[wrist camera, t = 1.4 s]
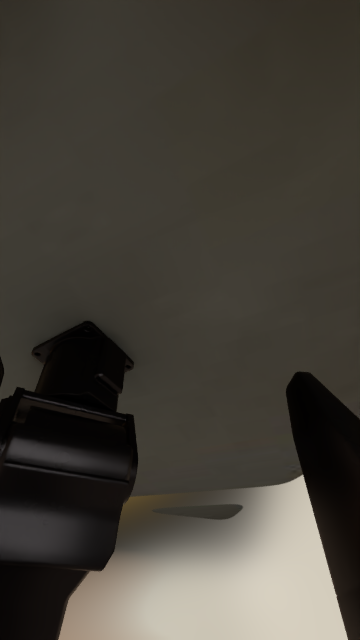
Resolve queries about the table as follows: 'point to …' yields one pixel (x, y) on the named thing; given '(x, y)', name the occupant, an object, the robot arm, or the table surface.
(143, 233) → the table surface
